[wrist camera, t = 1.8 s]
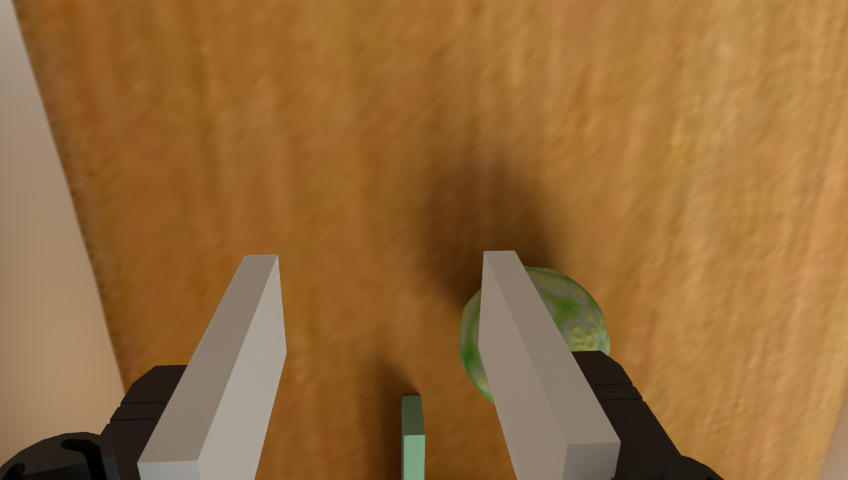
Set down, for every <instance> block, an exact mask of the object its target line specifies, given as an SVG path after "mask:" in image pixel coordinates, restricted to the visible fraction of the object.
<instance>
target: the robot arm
mask: <svg viewBox="0 0 848 480" xmlns="http://www.w3.org/2000/svg"><path fill="white" fill-rule="evenodd" d="M478 349H479V352H480V356H481V359H482V362H483V366H484V369H485V373H486V376H487V379H488V383H489V386H490V390H491V393H492V396H493V400H494V403H495V407H496V410H497V413H498V417H499V420H500V424H501V427H502V430H503V434H504V437H505V441H506V444H507V447H508V451H509V454H510V458H511V461H512V464H513V468H514V471H515V475H516V478H517V480H724V479H722V478H721V477H720V476H719V475H718V474H716V473H715V472H714V471H713V470H712V469H711V468H709V467H708V466H706V465H704V464H702V463H700V462H698V461H696V460H694V459H692V458H690V457H686V456H682V455H681V454H680V453H679V451H678V450H677V448H676V447H675V445H674V444H673V442H672V441H671V439H670V438H669V436H668V435H667V434H666V432H665V431H664V429H663V428H662V426H661V425H660V423H659V422H658V420H657V419H656V417H655V416H654V414H653V413H652V411H651V410H650V408H649V407H648V405H647V404H646V402H643V400H642V396H641V395H640V393H639V392H638V390H637V389H636V387H633V383H632V381H631V380H630V378H629V377H628V375H627V374H626V372H625V371H624V369H623V368H622V366H621V365H620V364H618V363H617V362H616V361H614V360H613V359H611V358H610V357H609V356H607V355H606V354H605V353H603V352H602V351H601V350H595V351H570V349H569V348H568V346H567V344H566V342H565V340H564V339H563V337H562V335H561V333H560V331H559V330H558V328H557V326H556V324H555V322H554V321H553V319H552V317H551V315H550V313H549V312H548V310H547V308H546V306H545V304H544V303H543V301H542V299H541V297H540V295H539V294H538V292H537V290H536V288H535V286H534V285H533V283H532V281H531V279H530V277H529V276H528V274H527V272H526V270H525V268H524V267H523V265H522V263H521V261H520V259H519V258H518V256H517V254H516V252H515V251H484V257H483V273H482V290H481V306H480V322H479V339H478ZM286 353H287V352H286V341H285V330H284V319H283V308H282V297H281V286H280V275H279V264H278V255H245V256H244V258H243V260H242V262H241V263H240V265H239V267H238V269H237V271H236V273H235V275H234V277H233V279H232V281H231V283H230V285H229V287H228V289H227V290H226V292H225V294H224V296H223V298H222V300H221V302H220V304H219V306H218V308H217V310H216V312H215V314H214V316H213V318H212V319H211V321H210V323H209V325H208V327H207V329H206V331H205V333H204V335H203V337H202V339H201V341H200V343H199V345H198V346H197V348H196V350H195V352H194V354H193V356H192V358H191V360H190V362H189V364H188V365H166V366H155V367H153V368H152V369H151V370H149V371H148V372H147V373H146V374H144V375H143V376H142V377H140V378H139V379H138V380H137V381H135V382H134V383H133V384H132V386H131V387H130V389H129V390H128V392H127V394H126V395H125V397H124V398H123V400H122V401H121V405H120V407H118V408H117V409H116V411H115V412H114V414H113V416H112V417H111V419H110V424H107V425H106V427H105V428H104V430H103V431H102V433H101V435H97V434H93V433H89V432H77V433H65V434H61V435H58V436H55V437H51V438H48V439H44V440H42V441H40V442H37V443H36V444H33V445H32V446H30V447H28V448H26V449H24V450H22V451H20V452H19V453H17V454H16V455H15V456H14V457H12V458H11V459H10V460H8V461H7V462H6V463H5V464H3V465H2V466H1V468H0V480H254V478H255V474H256V470H257V466H258V462H259V458H260V455H261V451H262V447H263V443H264V439H265V435H266V431H267V427H268V423H269V419H270V415H271V411H272V408H273V404H274V400H275V396H276V392H277V388H278V384H279V380H280V376H281V372H282V368H283V365H284V361H285V357H286Z"/></svg>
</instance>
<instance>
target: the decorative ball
mask: <svg viewBox="0 0 848 480" xmlns="http://www.w3.org/2000/svg"><path fill="white" fill-rule="evenodd" d="M523 267H524V268H525V270H526V272H527V274H528V276H529V277H530V279H531V281H532V283H533V285H534V286H535V288H536V290H537V292H538V294H539V295H540V297H541V299H542V301H543V303H544V304H545V306H546V308H547V310H548V312H549V313H550V315H551V317H552V319H553V321H554V322H555V324H556V326H557V328H558V330H559V331H560V333H561V335H562V337H563V339H564V340H565V342H566V344H567V346H568V348H569V349H570V351H595V350H601V351H602V352H603V353H605V354H606V355H607V356H608V355H609V352H610V337H609V333H608V330H607V326H606V323H605V320H604V317H603V313H602V310H601V308H600V306H599V305H598V304H597V302H596V301H595V300H594V299H593V297H592V296H591V295H590V294H589V293H588V292H587V291H586V290H585V289H584V288H583V287H582V286H580V285H579V284H578V283H576V282H575V281H573V280H572V279H570V278H569V277H567V276H565V275H563V274H561V273H559V272H557V271H554V270H552V269H549V268H538V267H528V266H523ZM481 290H482V287H481V288H480V289H479V290H478V291H477V292H476V293H475V294H474V296H473V297H472V298H471V299H470V300H469V302H468V303H467V304H466V305H465V308H464V310H463V312H462V318H461V323H460V327H459V357H460V360H461V362H462V364H463V366H464V368H465V370H466V372H467V374H468V376H469V377H470V379H471V380H472V382H473V383H474V384H475V386H476V387H477V388H478V389H479V391H480V392H481V393H482V394H483V395H484V396H485V397H486V398H487V399H489V400H490V401H491V402H492V403H494V400H493V396H492V393H491V390H490V386H489V383H488V379H487V376H486V373H485V369H484V366H483V362H482V359H481V356H480V352H479V349H478V339H479V322H480V306H481ZM494 404H495V403H494Z"/></svg>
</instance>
